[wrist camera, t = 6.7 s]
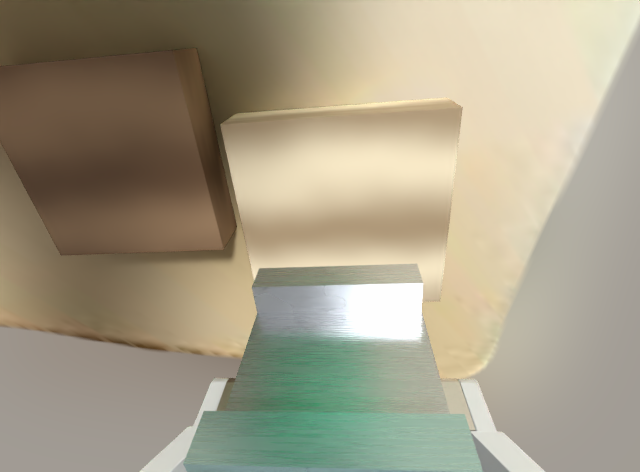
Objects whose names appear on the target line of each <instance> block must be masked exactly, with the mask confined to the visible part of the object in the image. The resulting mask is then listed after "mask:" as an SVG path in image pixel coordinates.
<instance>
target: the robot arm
mask: <svg viewBox="0 0 640 472" xmlns="http://www.w3.org/2000/svg"><path fill="white" fill-rule="evenodd" d="M235 379H236V378H235ZM235 379H234V378H214V379H213V380H212V382H211V383H210V385H209V388H208V391H207V393H206V395H205V398H204V400H203V403H202V405H201V408H200V410H199V413H198V415H197V418H196V420H195V422H194V425H193V426H189V427H187V428H186V429H185V430H184V431H183V432H182V433H181V434H180V435H179V436H177V437H176V438H175V439H174V440H173V441H172V442H171V443H170V444H169V445H168V446H167V447H166V448H164V449H163V450H162V451H161V452H160V453H159V454H158V455H157V456H156V457H155V458H154V459H153V460H151V461H150V462H149V463H148V464H147V465H146V466H145V467H144V468H143V469H142V470H141V471H140V472H187V471H186V469H185V467H184V465H183V463H184V461H185V458H186V455H187V453H188V450H189V448H190V445H191V443H192V440H193V437H194V435H195V432H196V430H197V427H198V425H199V422H200V419H201V417H202V414H203V412H204V411H225V409H226V406H227V403H228V400H229V397H230V394H231V391H232V388H233V385H234V382H235ZM440 380H441V383H442V387H443V391H444V394H445V398H446V401H447V405H448V409H449V412H450V414H465V416H466V419H467V423H468V426H469V429H470V432H471V435H472V438H473V441H474V445H475V448H476V451H477V454H478V457H479V460H480V464H481V467H482V470H483V472H545V471H544V470H543V469H542V468H541V467H540V466H539V465H538V464H536V463H535V462H534V461H533V460H532V459H531V458H530V457H529V456H528V455H527V454H526V453H525V452H524V451H522V450H521V449H520V448H519V447H518V446H517V445H516V444H515V443H514V442H513V441H512V440H511V439H510V438H508V437H507V436H506V435H505V434H504V433H503V432H497V430H496V428H495V425H494V423H493V420H492V418H491V415H490V413H489V410H488V408H487V405H486V402H485V400H484V397H483V395H482V392H481V389H480V387H479V385H478V382H477V381H476V380H475V379H440Z"/></svg>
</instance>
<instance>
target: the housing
mask: <svg viewBox="0 0 640 472" xmlns="http://www.w3.org/2000/svg"><path fill="white" fill-rule="evenodd" d="M252 290H253V295H254V299H255V304H256V308H257V316H256V319H255V322H254V325H253V328H252V331H251V334H250V337H249V340H248V343H247V346H246V349H245V352H244V355H243V358H242V361H241V364H240V367H239V370H238V373H237V376H236V379H235V382H234V385H233V388H232V391H231V394H230V397H229V400H228V403H227V406H226V409H225V411H204V412H203V414H202V417H201V419H200V422H199V425H198V427H197V430H196V432H195V435H194V437H193V440H192V443H191V445H190V448H189V450H188V453H187V455H186V458H185V461H184V463H183V465H184V467H185V469H186V471H187V472H483V470H482V467H481V464H480V460H479V457H478V454H477V451H476V448H475V445H474V441H473V438H472V435H471V432H470V429H469V426H468V423H467V419H466V416H465V414H450V412H449V409H448V405H447V401H446V398H445V394H444V391H443V387H442V383H441V380H440V376H439V372H438V369H437V365H436V362H435V358H434V354H433V351H432V347H431V344H430V340H429V336H428V333H427V329H426V325H425V322H424V318H423V315H422V311H421V308H422V294H423V280H422V277H421V274H420V271H419V268H418V265H417V264H388V265H354V266H319V267H285V268H259V270H258V273H257V275H256V278H255V280H254V283H253V286H252Z"/></svg>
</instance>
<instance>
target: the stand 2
mask: <svg viewBox="0 0 640 472" xmlns="http://www.w3.org/2000/svg"><path fill="white" fill-rule="evenodd" d="M462 108H463V107H461V106H460V105H458V104H456V103H455V102H453V101H452V100H450V99H448V98H435V99H422V100H408V101H395V102H381V103H368V104H355V105H341V106H328V107H314V108H301V109H287V110H274V111H260V112H247V113H236V114H234V115H233V116H232V117H230V118H229V119H227V120H226V121H225V122H223V123H222V124H220V126H221V131H222V136H223V140H224V145H225V149H226V154H227V159H228V163H229V168H230V172H231V177H232V182H233V186H234V191H235V195H236V200H237V205H238V209H239V214H240V218H241V223H242V228H243V232H244V237H245V241H246V246H247V250H248V255H249V260H250V264H251V269H252V273H253V278H254V280H255V278H256V275H257V273H258V270H259V268H285V267H319V266H354V265H388V264H417V265H418V268H419V271H420V274H421V277H422V280H423V294H422V302H438V301H440V299H441V291H442V282H443V273H444V264H445V256H446V247H447V238H448V230H449V221H450V212H451V204H452V195H453V186H454V177H455V169H456V160H457V151H458V143H459V134H460V125H461V116H462Z"/></svg>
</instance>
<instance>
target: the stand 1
mask: <svg viewBox="0 0 640 472" xmlns="http://www.w3.org/2000/svg"><path fill="white" fill-rule="evenodd" d="M0 142H1V144H2V146H3V148H4V150H5V151H6V153H7V155H8V157H9V159H10V161H11V163H12V165H13V166H14V168H15V170H16V172H17V174H18V176H19V178H20V179H21V181H22V183H23V185H24V187H25V189H26V191H27V193H28V194H29V196H30V198H31V200H32V202H33V204H34V206H35V208H36V209H37V211H38V213H39V215H40V217H41V219H42V221H43V223H44V224H45V226H46V228H47V230H48V232H49V234H50V236H51V238H52V239H53V241H54V243H55V245H56V247H57V249H58V251H59V253H60V254H61V255H82V254H111V253H140V252H169V251H198V250H224V248H225V246H226V245H227V243H228V241H229V239H230V238H231V236H232V234H233V233H234V231H235V229H236V227H237V225H236V221H235V216H234V212H233V208H232V203H231V199H230V194H229V190H228V185H227V181H226V177H225V172H224V168H223V163H222V159H221V155H220V150H219V146H218V141H217V137H216V132H215V128H214V124H213V119H212V115H211V110H210V106H209V102H208V97H207V93H206V88H205V84H204V79H203V75H202V71H201V66H200V62H199V57H198V53H197V49H196V48H191V49H179V50H168V51H158V52H147V53H136V54H126V55H115V56H105V57H94V58H83V59H73V60H62V61H52V62H41V63H30V64H20V65H9V66H0Z"/></svg>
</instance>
